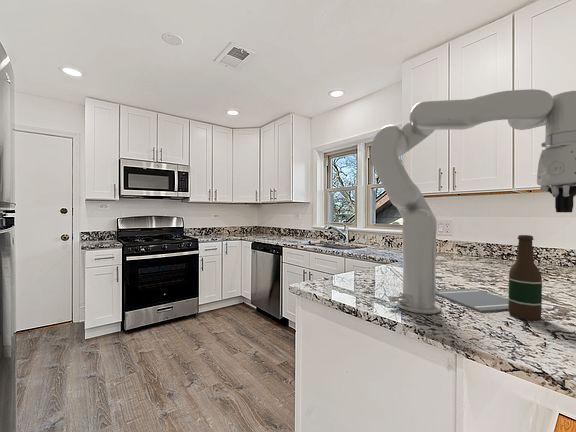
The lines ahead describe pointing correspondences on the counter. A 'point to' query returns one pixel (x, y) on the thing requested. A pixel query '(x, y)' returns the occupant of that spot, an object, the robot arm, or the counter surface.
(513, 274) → the beer bottle
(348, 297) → the counter surface
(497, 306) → the mat
